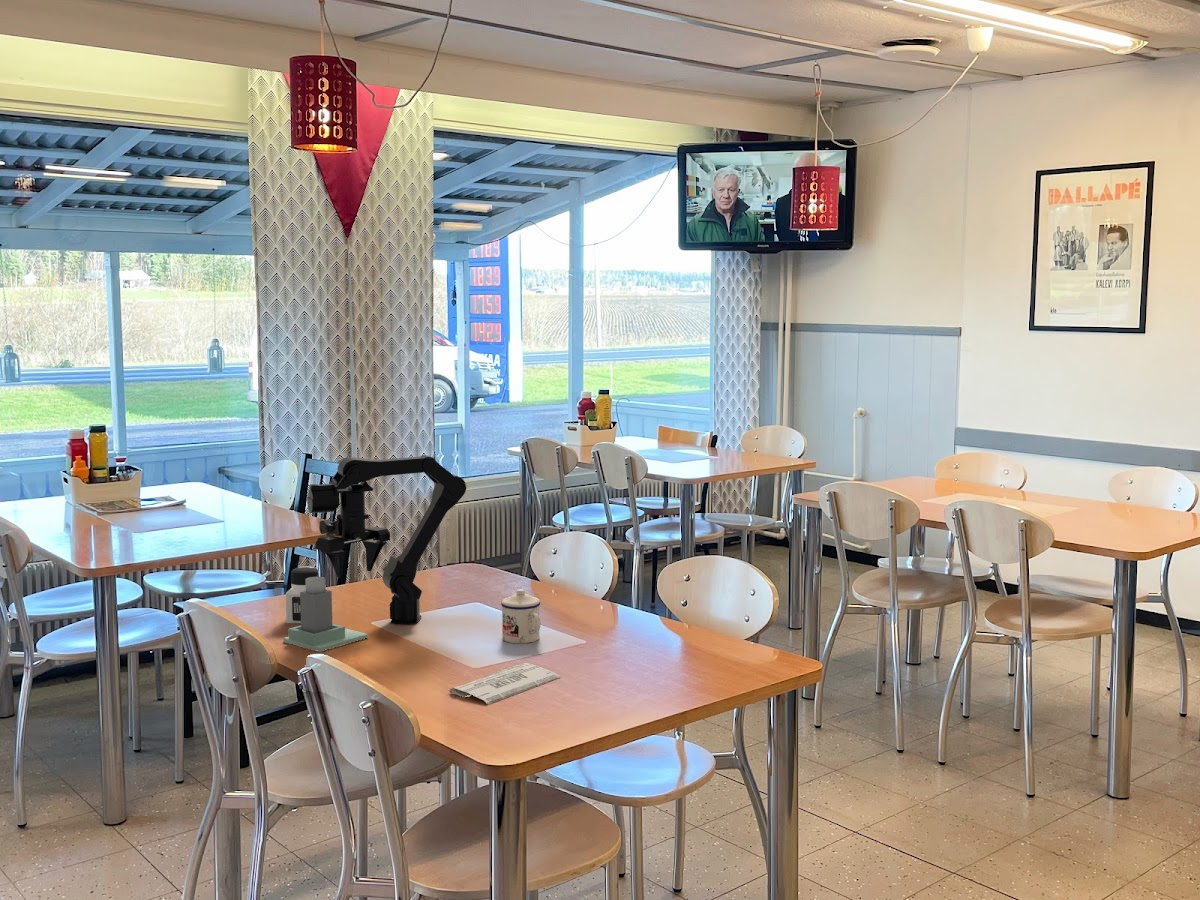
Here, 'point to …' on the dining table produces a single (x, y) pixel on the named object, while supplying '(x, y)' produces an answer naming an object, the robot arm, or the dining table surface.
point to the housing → (323, 637)
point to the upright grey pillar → (316, 606)
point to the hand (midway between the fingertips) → (354, 574)
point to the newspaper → (506, 682)
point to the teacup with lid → (520, 618)
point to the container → (297, 592)
